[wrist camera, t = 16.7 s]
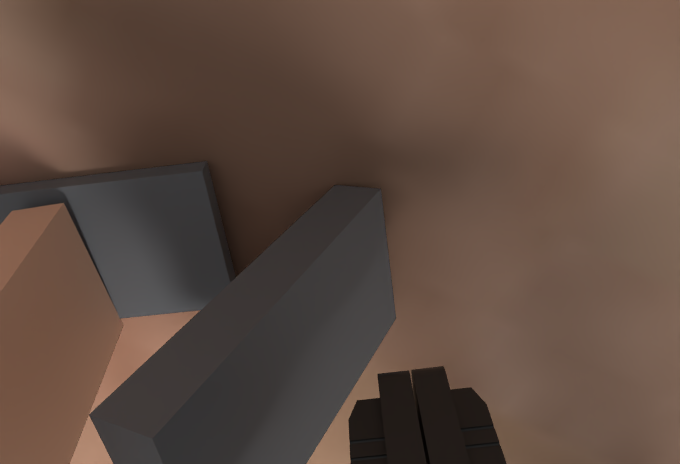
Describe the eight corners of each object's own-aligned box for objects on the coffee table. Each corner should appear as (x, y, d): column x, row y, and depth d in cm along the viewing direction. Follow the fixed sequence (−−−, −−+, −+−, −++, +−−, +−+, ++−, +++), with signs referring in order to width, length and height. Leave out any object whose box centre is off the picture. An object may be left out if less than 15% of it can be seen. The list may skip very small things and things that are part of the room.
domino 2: (123, 325, 19) (-12, 672, 11) (78, 332, 20) (-90, 682, 11) (63, 202, 17) (-176, 540, 8) (11, 210, 17) (-278, 554, 8)
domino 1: (236, 306, 19) (-47, 335, 20) (242, 280, 20) (-22, 308, 21) (202, 170, 17) (-120, 208, 17) (212, 152, 18) (-86, 186, 19)
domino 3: (396, 318, 20) (222, 599, 12) (354, 310, 20) (166, 570, 13) (380, 188, 17) (152, 439, 10) (334, 184, 18) (88, 414, 10)
